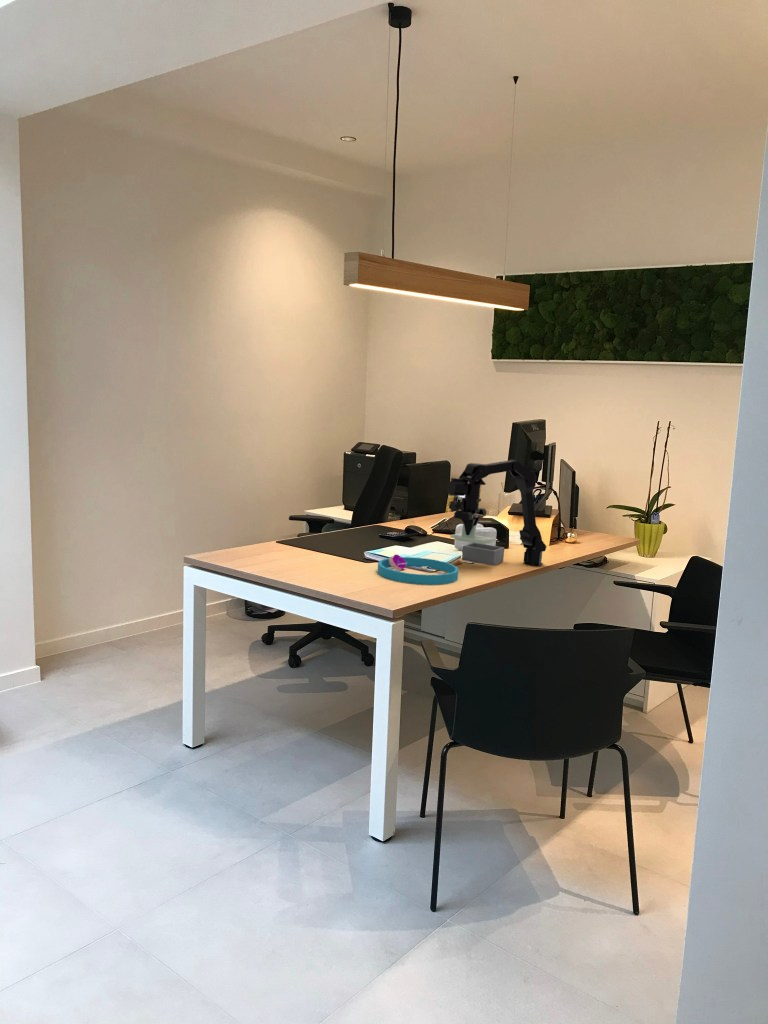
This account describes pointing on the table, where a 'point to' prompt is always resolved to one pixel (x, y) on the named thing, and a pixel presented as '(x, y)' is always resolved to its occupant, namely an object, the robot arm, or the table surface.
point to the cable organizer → (479, 532)
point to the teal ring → (401, 562)
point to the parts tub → (483, 553)
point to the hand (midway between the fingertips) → (468, 534)
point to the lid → (471, 537)
